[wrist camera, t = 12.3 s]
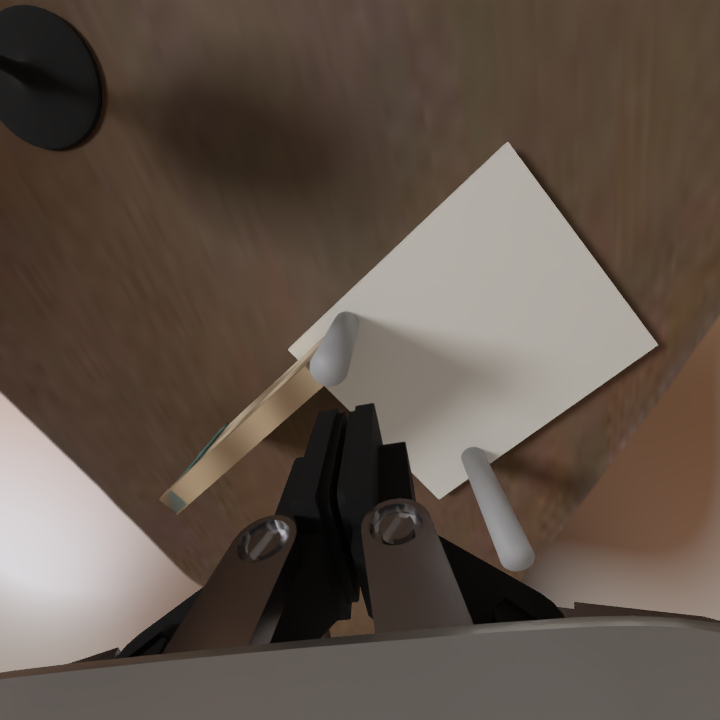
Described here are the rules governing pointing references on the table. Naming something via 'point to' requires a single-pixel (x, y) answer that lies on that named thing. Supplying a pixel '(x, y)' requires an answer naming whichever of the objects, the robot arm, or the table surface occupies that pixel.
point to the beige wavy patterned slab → (245, 432)
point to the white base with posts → (477, 336)
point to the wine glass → (46, 79)
